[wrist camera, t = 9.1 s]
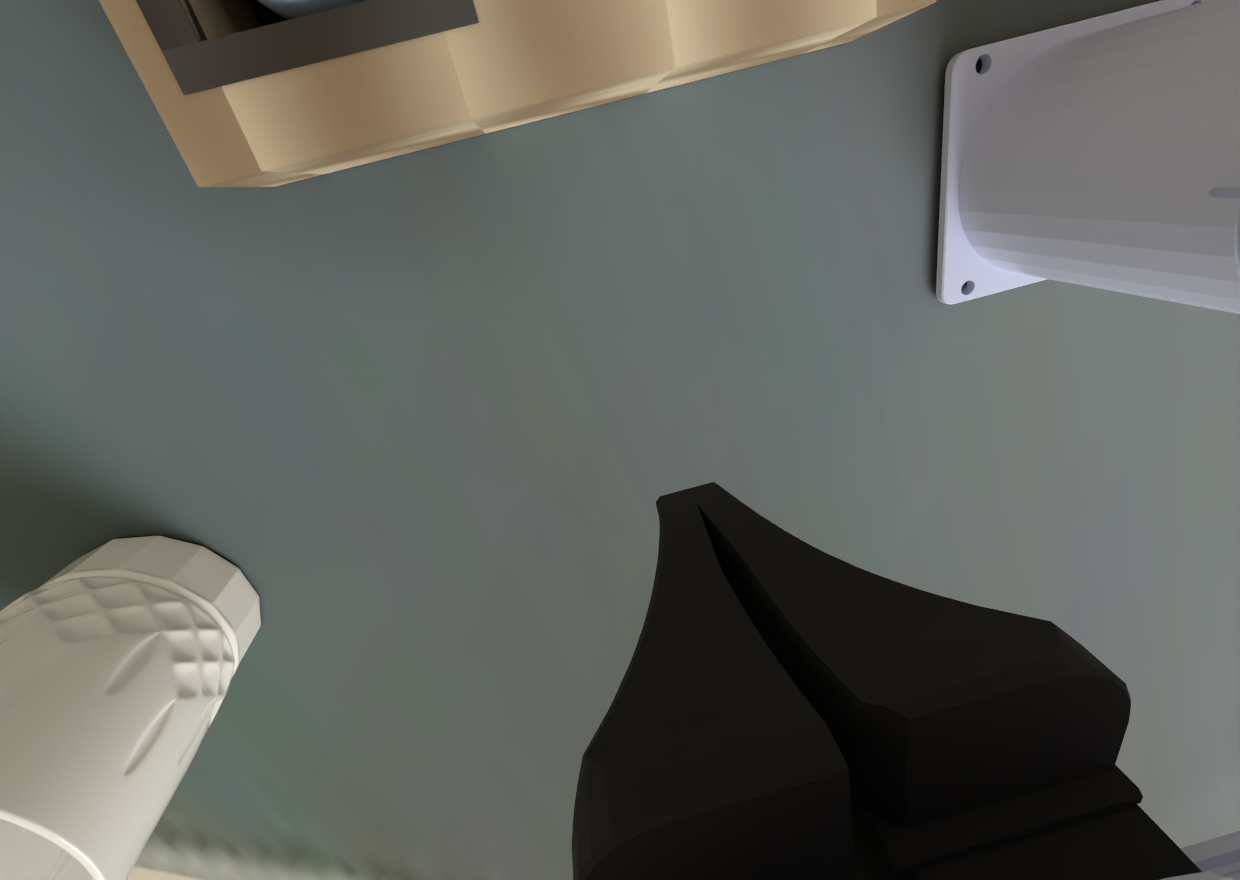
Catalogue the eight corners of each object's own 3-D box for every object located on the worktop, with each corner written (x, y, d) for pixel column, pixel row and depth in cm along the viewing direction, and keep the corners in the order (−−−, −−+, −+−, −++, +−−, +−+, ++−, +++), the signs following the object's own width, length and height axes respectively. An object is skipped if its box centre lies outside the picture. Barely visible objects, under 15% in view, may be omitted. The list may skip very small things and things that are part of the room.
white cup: (8, 605, 21) (-398, 926, 12) (132, 481, 19) (-221, 739, 10) (201, 699, 24) (-1, 1008, 15) (320, 600, 22) (175, 874, 14)
